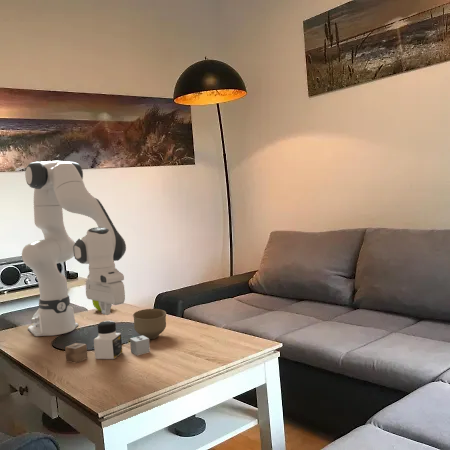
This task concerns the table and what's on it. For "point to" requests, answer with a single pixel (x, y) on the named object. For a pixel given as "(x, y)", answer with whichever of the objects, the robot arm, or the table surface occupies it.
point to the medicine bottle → (107, 341)
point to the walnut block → (76, 352)
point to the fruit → (96, 305)
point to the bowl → (150, 322)
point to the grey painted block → (139, 345)
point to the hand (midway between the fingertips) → (106, 314)
